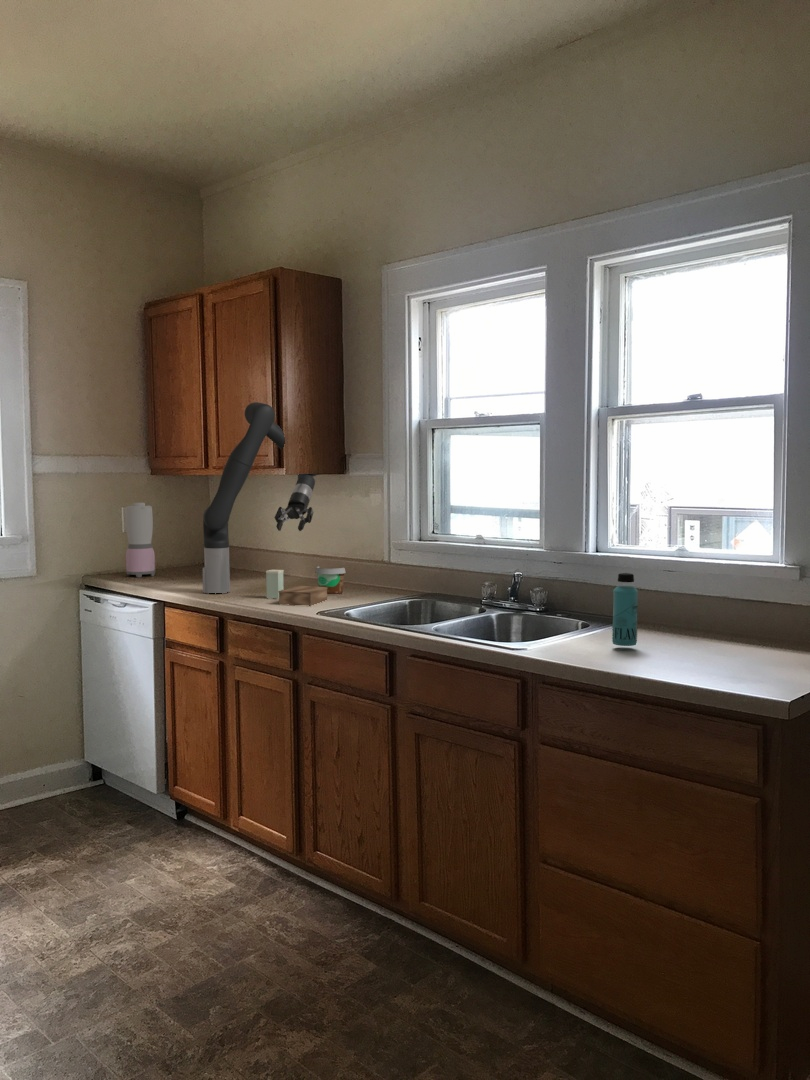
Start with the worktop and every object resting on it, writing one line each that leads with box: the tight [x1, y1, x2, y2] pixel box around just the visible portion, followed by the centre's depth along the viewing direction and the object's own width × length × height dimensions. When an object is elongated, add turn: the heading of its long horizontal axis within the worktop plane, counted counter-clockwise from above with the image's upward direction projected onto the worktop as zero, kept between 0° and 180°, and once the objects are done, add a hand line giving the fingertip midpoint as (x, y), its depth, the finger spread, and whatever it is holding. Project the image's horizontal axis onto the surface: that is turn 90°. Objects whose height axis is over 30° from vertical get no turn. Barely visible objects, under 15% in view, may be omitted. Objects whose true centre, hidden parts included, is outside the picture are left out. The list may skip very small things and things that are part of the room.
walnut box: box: [278, 585, 328, 607], centre depth 312 cm, size 12×14×5 cm
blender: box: [125, 502, 156, 578], centre depth 389 cm, size 16×12×32 cm
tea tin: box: [265, 569, 285, 599], centre depth 322 cm, size 5×5×10 cm
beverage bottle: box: [611, 572, 639, 647], centre depth 231 cm, size 6×7×20 cm
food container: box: [315, 566, 347, 595], centre depth 331 cm, size 12×6×10 cm, turn 62°
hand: (289, 529), depth 333 cm, fingers open, 8 cm apart
